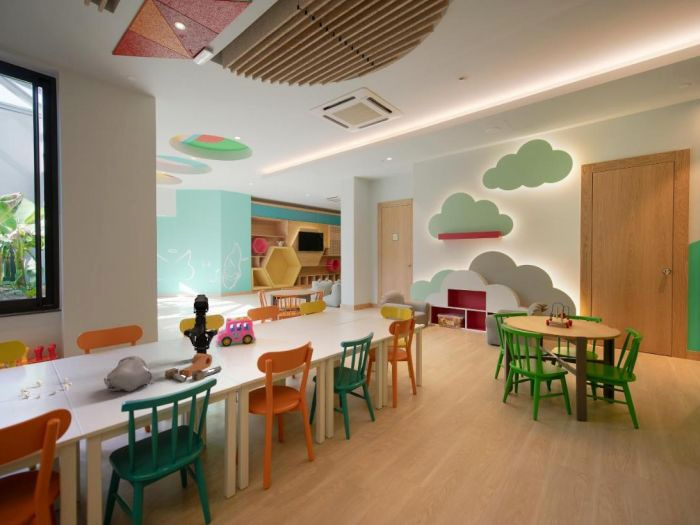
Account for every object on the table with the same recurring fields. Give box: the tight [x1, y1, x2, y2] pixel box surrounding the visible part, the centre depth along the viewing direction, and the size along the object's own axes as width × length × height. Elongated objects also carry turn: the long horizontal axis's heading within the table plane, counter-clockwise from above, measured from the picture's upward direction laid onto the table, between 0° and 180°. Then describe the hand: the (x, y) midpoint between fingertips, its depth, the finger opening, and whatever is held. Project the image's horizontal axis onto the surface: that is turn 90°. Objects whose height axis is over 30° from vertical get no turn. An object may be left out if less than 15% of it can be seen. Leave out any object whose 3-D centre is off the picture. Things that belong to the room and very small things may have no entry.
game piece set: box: [18, 377, 73, 399], centre depth 163 cm, size 19×20×4 cm
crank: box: [178, 353, 213, 378], centre depth 193 cm, size 20×8×8 cm, turn 166°
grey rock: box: [103, 355, 153, 392], centre depth 166 cm, size 20×18×15 cm
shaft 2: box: [191, 365, 222, 382], centre depth 185 cm, size 16×5×4 cm, turn 148°
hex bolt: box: [164, 367, 188, 383], centre depth 179 cm, size 14×5×4 cm, turn 58°
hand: (201, 346), depth 198 cm, fingers open, 9 cm apart
